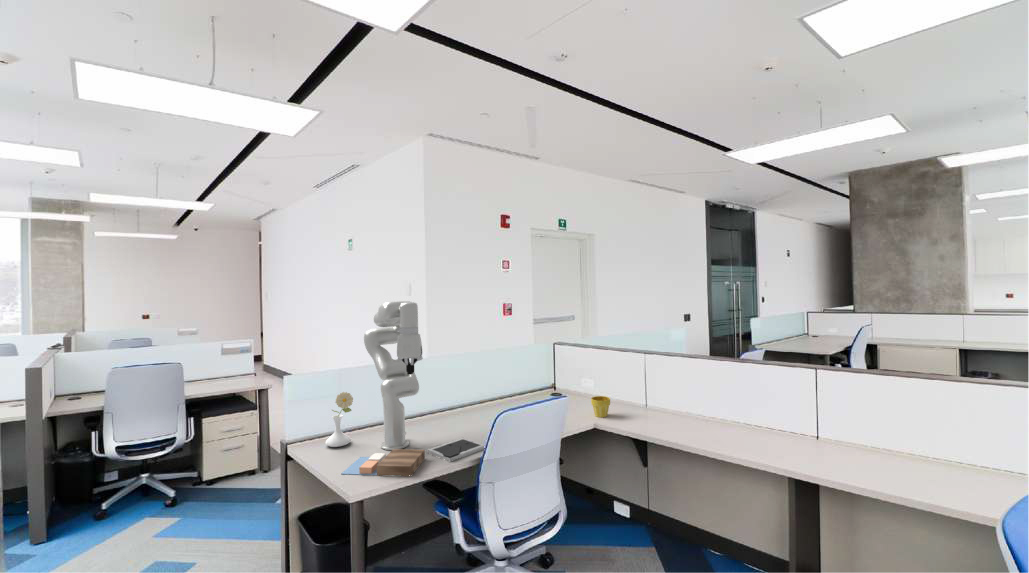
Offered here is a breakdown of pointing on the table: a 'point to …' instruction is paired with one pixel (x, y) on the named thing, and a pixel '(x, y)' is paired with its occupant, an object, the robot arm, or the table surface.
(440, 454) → the picture frame
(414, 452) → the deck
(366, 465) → the orange rectangular block
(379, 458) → the white rectangular block
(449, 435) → the table surface
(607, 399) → the plant pot
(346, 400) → the flower in vase
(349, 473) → the mat
